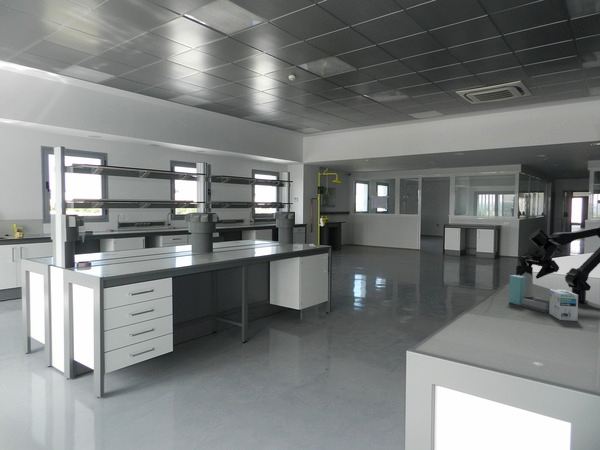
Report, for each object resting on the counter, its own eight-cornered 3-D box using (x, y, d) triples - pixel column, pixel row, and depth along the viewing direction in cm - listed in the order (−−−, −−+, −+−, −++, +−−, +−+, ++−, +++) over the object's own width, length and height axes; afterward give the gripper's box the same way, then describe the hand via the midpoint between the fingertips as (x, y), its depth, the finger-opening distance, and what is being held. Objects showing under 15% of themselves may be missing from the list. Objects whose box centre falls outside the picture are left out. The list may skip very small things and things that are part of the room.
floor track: (521, 306, 181) (521, 298, 181) (536, 305, 184) (536, 297, 184) (545, 312, 170) (545, 304, 170) (560, 311, 172) (560, 302, 172)
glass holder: (515, 296, 203) (516, 267, 203) (511, 291, 216) (512, 264, 216) (534, 297, 200) (535, 268, 199) (530, 292, 213) (530, 264, 212)
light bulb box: (578, 321, 157) (579, 294, 156) (559, 320, 158) (560, 293, 158) (565, 314, 167) (566, 289, 167) (548, 313, 168) (549, 288, 168)
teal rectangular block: (509, 302, 189) (509, 275, 189) (513, 301, 190) (514, 275, 190) (519, 305, 184) (520, 277, 183) (524, 304, 185) (525, 277, 184)
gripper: (521, 240, 199) (503, 262, 196) (555, 243, 181) (536, 267, 178) (532, 255, 201) (515, 277, 198) (567, 259, 184) (548, 284, 181)
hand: (527, 276), depth 189 cm, fingers open, 9 cm apart
